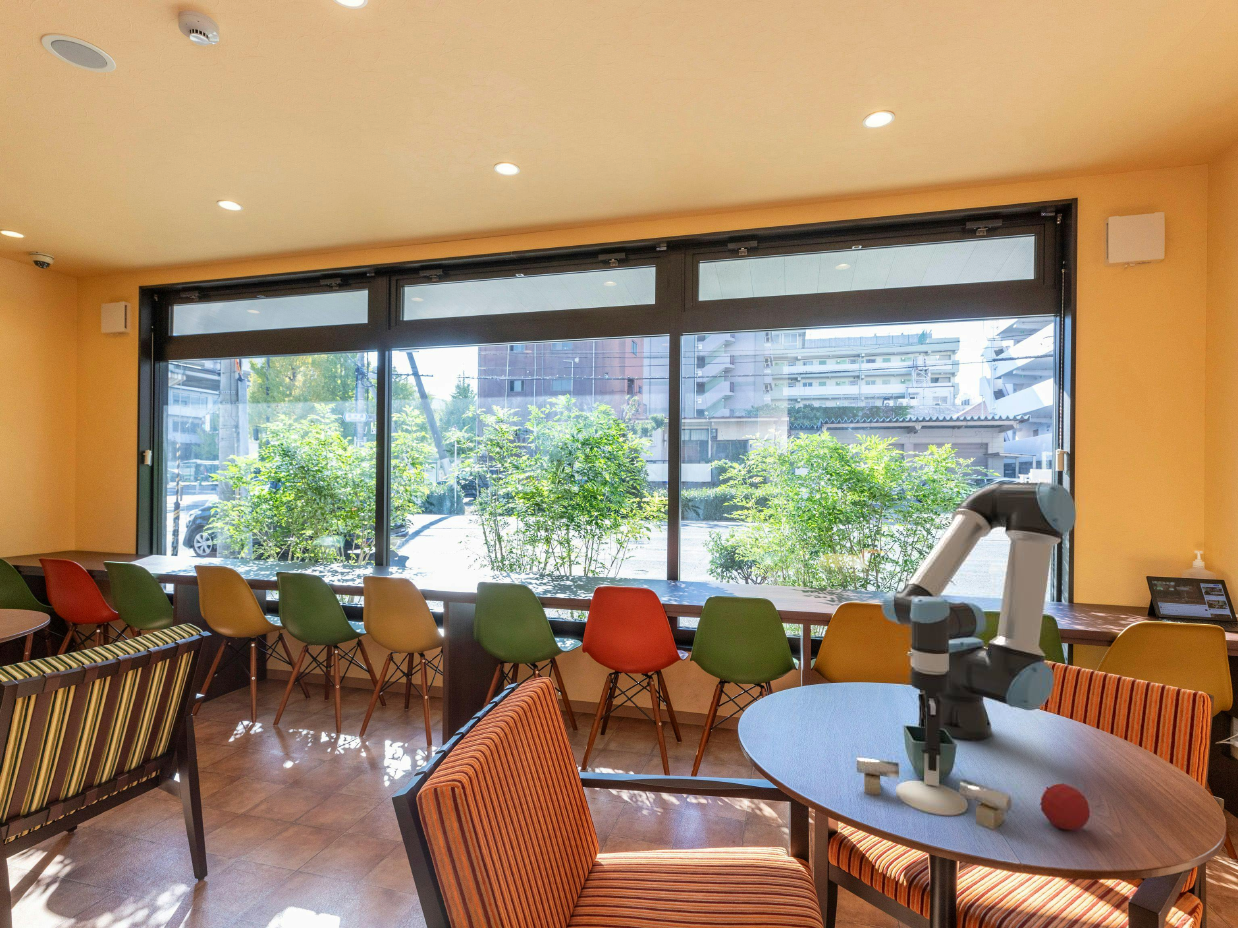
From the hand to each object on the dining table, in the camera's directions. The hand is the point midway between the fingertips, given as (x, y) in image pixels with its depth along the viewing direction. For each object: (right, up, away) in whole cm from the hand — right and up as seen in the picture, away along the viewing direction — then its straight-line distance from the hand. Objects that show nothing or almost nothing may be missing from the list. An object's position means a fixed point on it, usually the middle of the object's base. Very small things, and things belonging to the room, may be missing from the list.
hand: (928, 774), depth 138 cm
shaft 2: (+2, 0, -17) cm, 17 cm away
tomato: (+16, -1, -19) cm, 25 cm away
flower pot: (0, -1, 0) cm, 1 cm away
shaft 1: (-13, 0, -6) cm, 15 cm away
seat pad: (-4, 0, -9) cm, 10 cm away
